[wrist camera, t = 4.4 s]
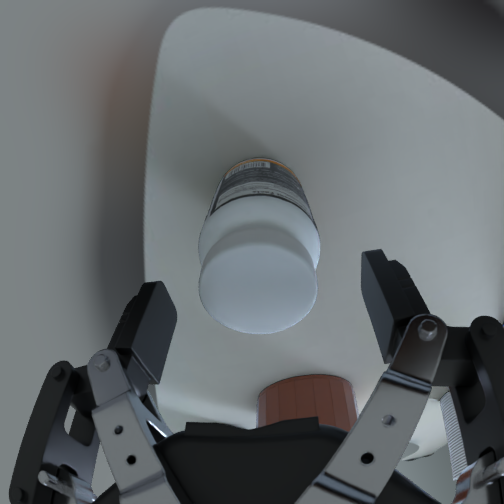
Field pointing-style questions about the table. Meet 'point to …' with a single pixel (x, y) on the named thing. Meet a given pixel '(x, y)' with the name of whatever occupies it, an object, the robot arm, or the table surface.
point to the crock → (309, 401)
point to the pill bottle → (259, 250)
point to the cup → (453, 436)
